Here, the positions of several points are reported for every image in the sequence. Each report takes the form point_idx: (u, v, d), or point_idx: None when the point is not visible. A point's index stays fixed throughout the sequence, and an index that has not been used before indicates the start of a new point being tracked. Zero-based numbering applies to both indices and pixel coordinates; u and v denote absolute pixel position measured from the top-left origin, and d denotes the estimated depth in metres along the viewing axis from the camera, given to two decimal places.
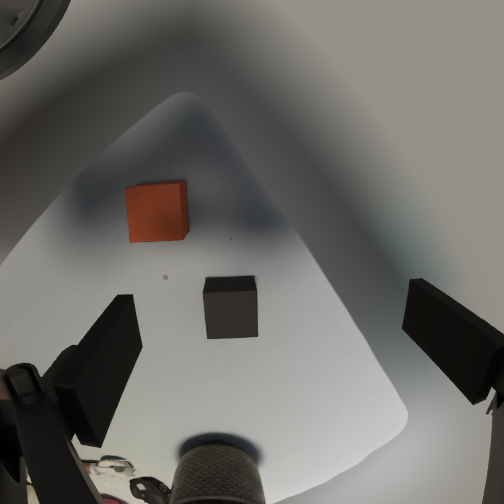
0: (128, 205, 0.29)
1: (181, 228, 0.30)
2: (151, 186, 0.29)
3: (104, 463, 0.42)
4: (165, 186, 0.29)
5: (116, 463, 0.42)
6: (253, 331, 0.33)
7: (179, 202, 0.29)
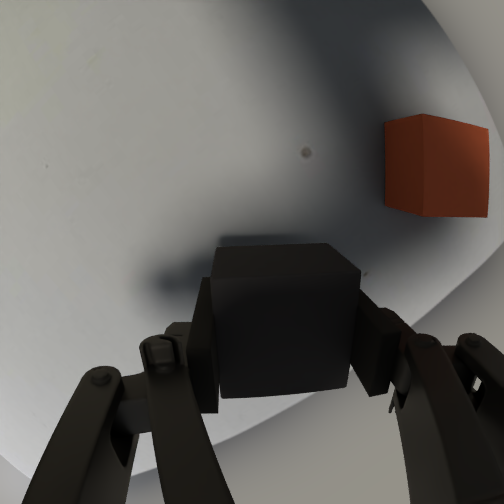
0: (470, 127, 0.14)
1: (438, 215, 0.15)
2: (488, 172, 0.14)
3: None
4: (487, 194, 0.15)
5: None
6: (239, 390, 0.12)
7: (468, 215, 0.15)
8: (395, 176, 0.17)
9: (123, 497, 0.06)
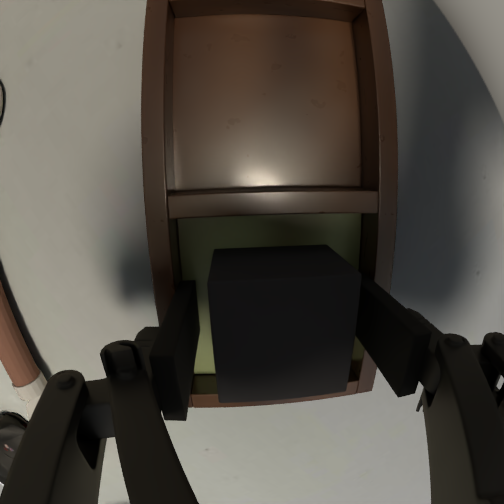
0: None
1: None
2: None
3: None
4: None
5: None
6: (237, 394, 0.12)
7: None
8: None
9: (95, 499, 0.05)
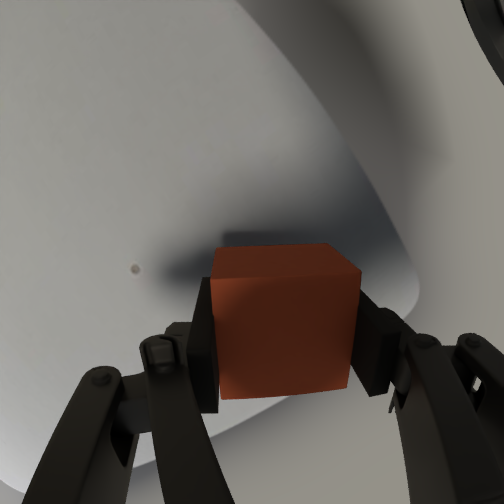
0: (316, 279, 0.11)
1: (248, 397, 0.12)
2: (352, 335, 0.12)
3: None
4: (346, 363, 0.12)
5: None
6: None
7: (306, 391, 0.12)
8: None
9: (123, 497, 0.06)
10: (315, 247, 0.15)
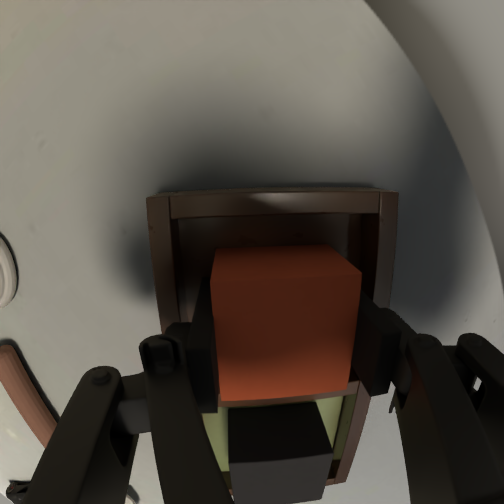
0: (316, 281, 0.11)
1: (248, 398, 0.12)
2: (352, 337, 0.12)
3: None
4: (347, 365, 0.12)
5: None
6: None
7: (307, 393, 0.12)
8: None
9: (123, 497, 0.06)
10: (315, 248, 0.15)
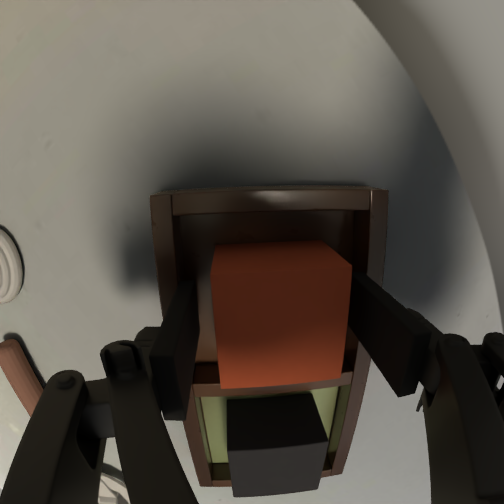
0: (309, 273, 0.12)
1: (246, 386, 0.13)
2: (344, 327, 0.13)
3: (118, 487, 0.20)
4: (340, 354, 0.13)
5: None
6: (245, 494, 0.15)
7: (302, 381, 0.13)
8: None
9: (94, 499, 0.05)
10: (309, 244, 0.15)
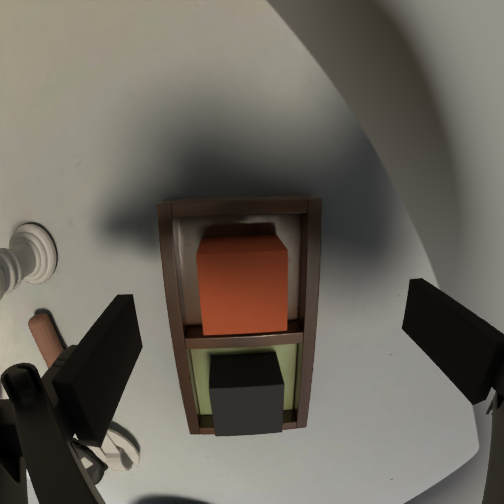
0: (258, 254, 0.19)
1: (220, 333, 0.20)
2: (286, 292, 0.20)
3: (122, 442, 0.27)
4: (284, 312, 0.20)
5: (135, 458, 0.28)
6: (224, 432, 0.22)
7: (259, 331, 0.20)
8: None
9: None
10: (266, 237, 0.22)
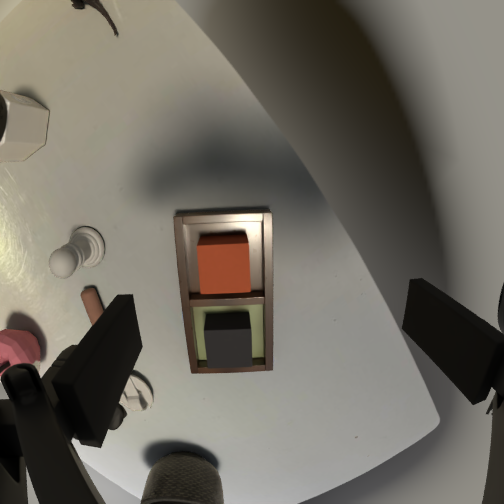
0: (232, 245, 0.33)
1: (211, 293, 0.34)
2: (248, 268, 0.34)
3: (141, 385, 0.41)
4: (248, 280, 0.34)
5: (150, 399, 0.42)
6: (213, 365, 0.37)
7: (233, 291, 0.34)
8: None
9: None
10: (239, 236, 0.37)
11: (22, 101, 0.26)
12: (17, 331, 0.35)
